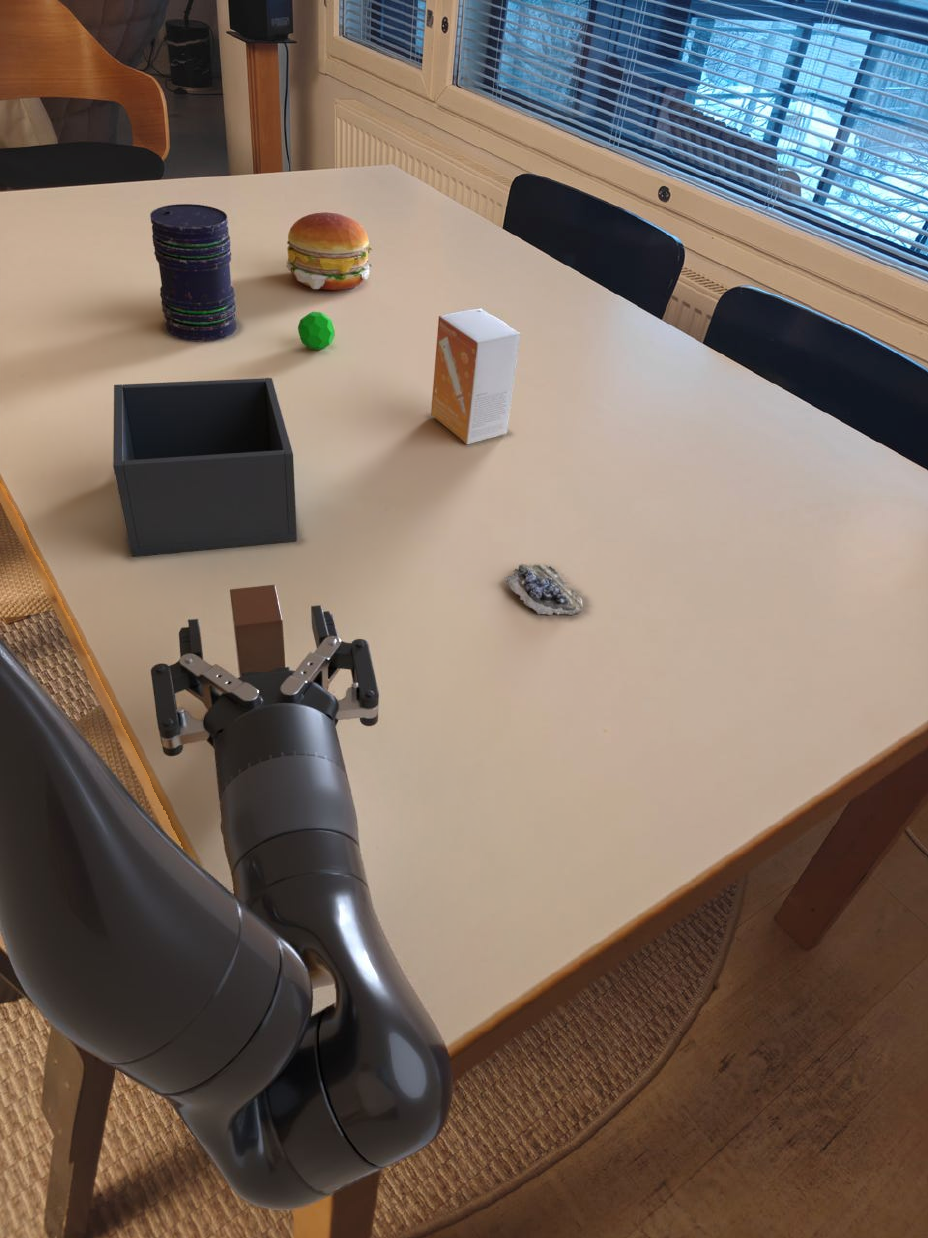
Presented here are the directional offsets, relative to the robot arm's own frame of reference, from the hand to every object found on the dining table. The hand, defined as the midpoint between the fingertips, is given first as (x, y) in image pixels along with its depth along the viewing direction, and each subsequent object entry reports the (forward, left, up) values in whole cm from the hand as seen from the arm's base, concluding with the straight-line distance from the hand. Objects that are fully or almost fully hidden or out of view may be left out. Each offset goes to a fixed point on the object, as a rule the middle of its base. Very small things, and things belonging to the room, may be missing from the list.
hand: (256, 621), depth 62 cm
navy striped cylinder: (0, +75, -10) cm, 76 cm away
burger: (+21, +92, -10) cm, 95 cm away
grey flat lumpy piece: (+28, +10, -10) cm, 32 cm away
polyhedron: (+15, +67, -10) cm, 70 cm away
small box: (+30, +43, -10) cm, 54 cm away
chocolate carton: (0, -1, -10) cm, 10 cm away
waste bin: (-2, +30, -10) cm, 32 cm away
